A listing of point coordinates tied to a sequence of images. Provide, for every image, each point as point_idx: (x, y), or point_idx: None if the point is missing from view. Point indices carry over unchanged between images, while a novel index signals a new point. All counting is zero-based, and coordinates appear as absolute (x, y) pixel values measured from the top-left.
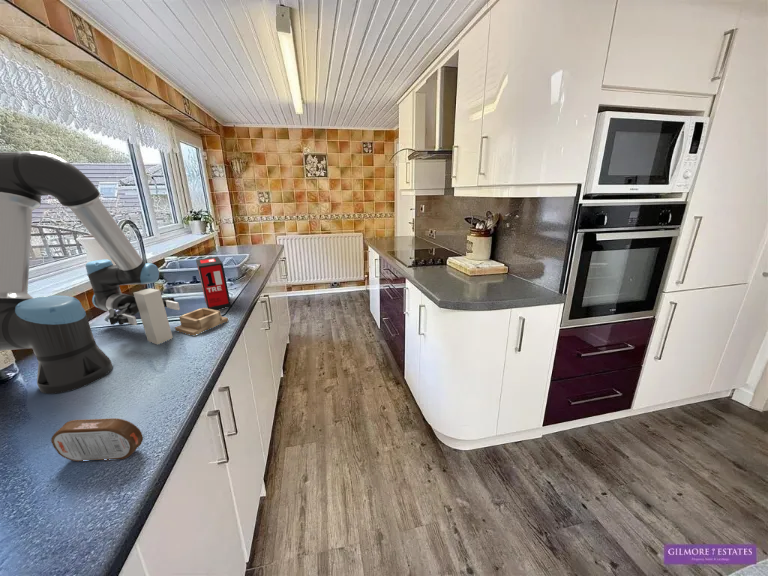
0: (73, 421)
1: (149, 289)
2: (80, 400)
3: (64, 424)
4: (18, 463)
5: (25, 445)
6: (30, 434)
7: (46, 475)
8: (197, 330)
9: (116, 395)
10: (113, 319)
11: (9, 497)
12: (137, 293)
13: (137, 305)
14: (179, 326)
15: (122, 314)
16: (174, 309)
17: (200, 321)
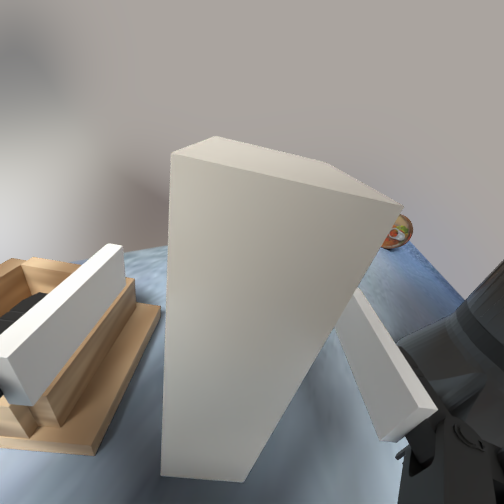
0: (400, 215)
1: (226, 153)
2: (416, 314)
3: (407, 222)
4: (437, 276)
5: (446, 291)
6: (453, 303)
7: (406, 253)
8: (141, 305)
9: (367, 282)
10: (489, 447)
11: (423, 257)
12: (356, 180)
13: (324, 335)
14: (79, 424)
15: (430, 404)
16: (106, 310)
17: None
